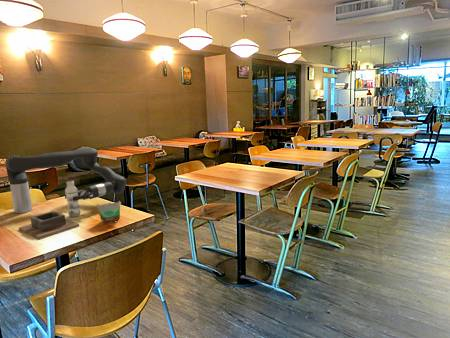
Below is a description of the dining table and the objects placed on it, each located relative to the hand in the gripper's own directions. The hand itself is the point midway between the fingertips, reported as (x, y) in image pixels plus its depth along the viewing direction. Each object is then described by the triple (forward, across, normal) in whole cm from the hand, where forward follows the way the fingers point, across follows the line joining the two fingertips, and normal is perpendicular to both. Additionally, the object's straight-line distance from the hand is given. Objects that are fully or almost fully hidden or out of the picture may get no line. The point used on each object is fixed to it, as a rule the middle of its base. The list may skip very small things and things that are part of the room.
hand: (69, 197), depth 188 cm
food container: (-8, +26, +11) cm, 29 cm away
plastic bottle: (-2, 0, +11) cm, 11 cm away
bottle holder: (+15, +6, +11) cm, 20 cm away
